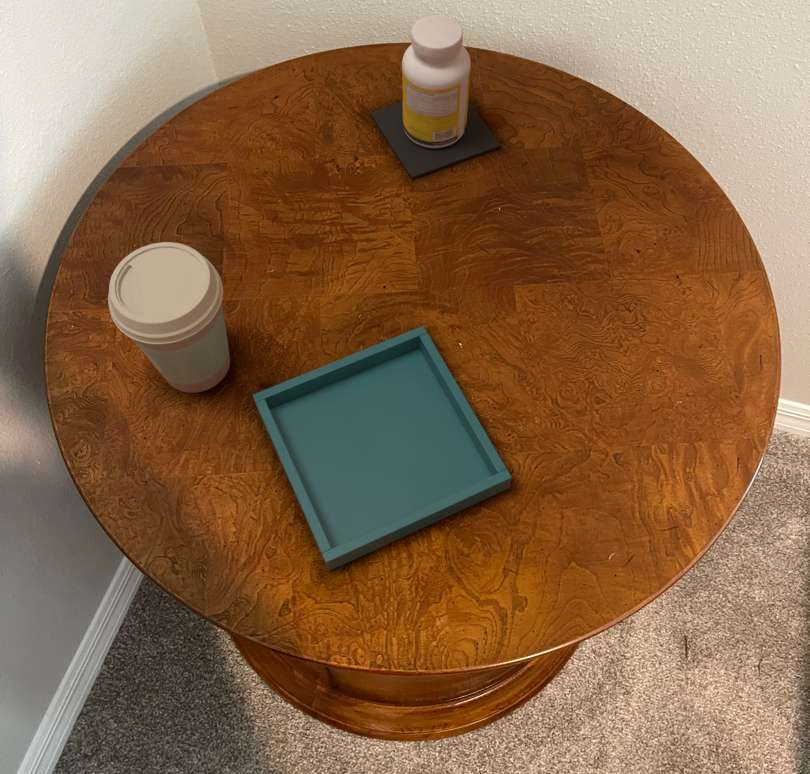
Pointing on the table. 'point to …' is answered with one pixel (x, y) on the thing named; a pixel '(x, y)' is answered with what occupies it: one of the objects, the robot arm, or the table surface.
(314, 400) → the tray
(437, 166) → the mat
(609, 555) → the table surface
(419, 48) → the pill bottle
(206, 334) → the coffee cup
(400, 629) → the table surface
